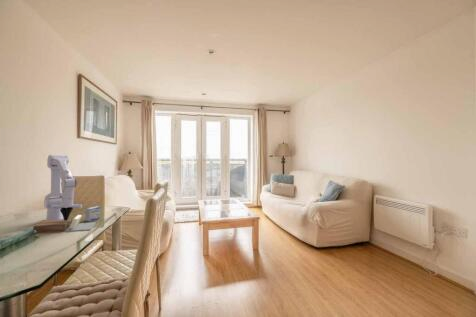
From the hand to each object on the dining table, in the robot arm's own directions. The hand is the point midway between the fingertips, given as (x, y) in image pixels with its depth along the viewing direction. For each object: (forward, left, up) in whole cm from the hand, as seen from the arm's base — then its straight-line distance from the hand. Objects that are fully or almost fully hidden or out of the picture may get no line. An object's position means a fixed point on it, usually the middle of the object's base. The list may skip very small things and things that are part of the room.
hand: (66, 219), depth 124 cm
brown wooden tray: (0, -6, -5) cm, 8 cm away
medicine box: (-16, +10, -5) cm, 20 cm away
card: (0, +4, -1) cm, 4 cm away
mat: (0, +8, -5) cm, 10 cm away
